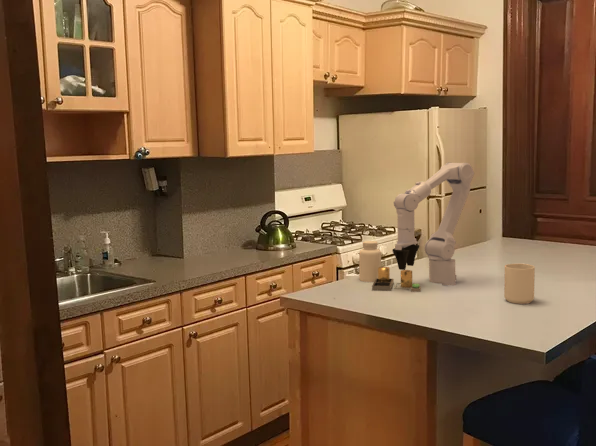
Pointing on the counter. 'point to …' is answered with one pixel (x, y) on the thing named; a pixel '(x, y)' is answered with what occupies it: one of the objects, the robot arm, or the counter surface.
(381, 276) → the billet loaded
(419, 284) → the button
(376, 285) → the crate
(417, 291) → the button housing
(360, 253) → the pill bottle
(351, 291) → the counter surface
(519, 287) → the mug
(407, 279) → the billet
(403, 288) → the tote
